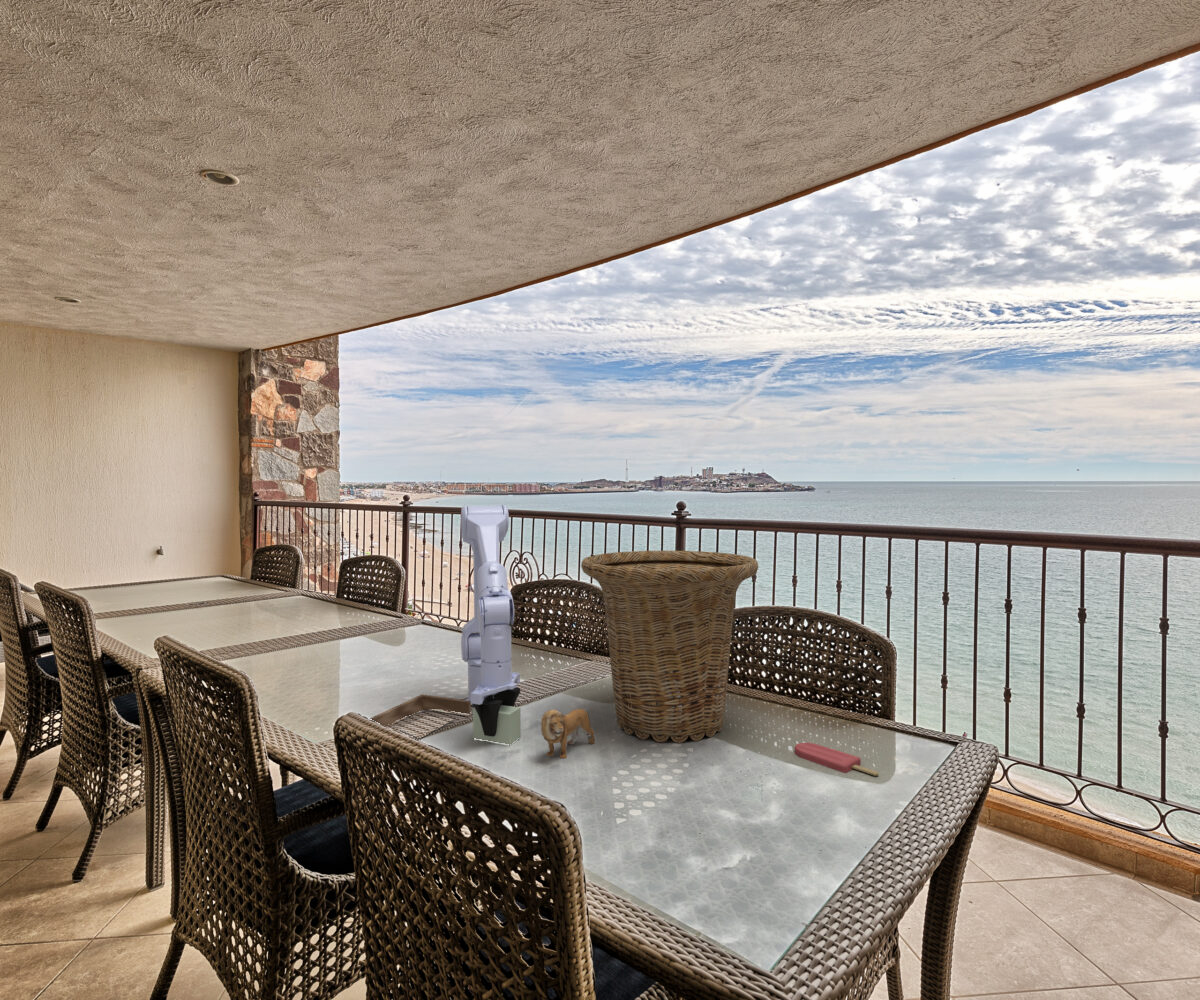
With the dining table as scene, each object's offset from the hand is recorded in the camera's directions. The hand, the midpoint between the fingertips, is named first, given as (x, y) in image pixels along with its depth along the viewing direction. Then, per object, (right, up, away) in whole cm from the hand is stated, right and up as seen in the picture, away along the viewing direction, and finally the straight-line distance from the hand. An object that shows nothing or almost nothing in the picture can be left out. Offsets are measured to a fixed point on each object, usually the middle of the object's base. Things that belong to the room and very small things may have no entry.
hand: (496, 730), depth 125 cm
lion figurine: (+14, -2, -6) cm, 15 cm away
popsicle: (+60, -2, -12) cm, 61 cm away
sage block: (0, -2, 0) cm, 2 cm away
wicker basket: (+33, -2, +8) cm, 34 cm away
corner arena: (-16, -2, +8) cm, 18 cm away
